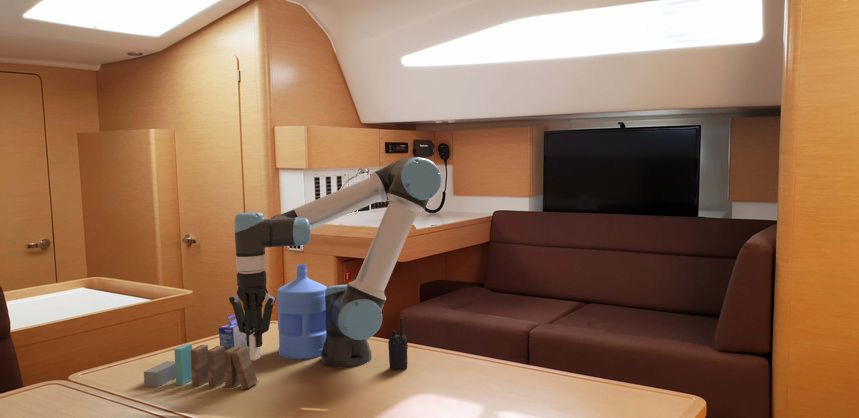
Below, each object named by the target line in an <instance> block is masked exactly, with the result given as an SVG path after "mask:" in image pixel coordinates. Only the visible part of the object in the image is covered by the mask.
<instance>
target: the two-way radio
mask: <svg viewBox="0 0 859 418" xmlns="http://www.w3.org/2000/svg"><path fill="white" fill-rule="evenodd" d="M403 322H404V320H403V318H402V317H400V318H399V334H397V332H396V329H395V330H394V329H393V330H392V331H391V335H390V336H389V339H388V363H389V364H388V365H389V369H390V370H391V371H405V370H407V369H408V339H407V336H406V334H404V323H403Z"/></svg>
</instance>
